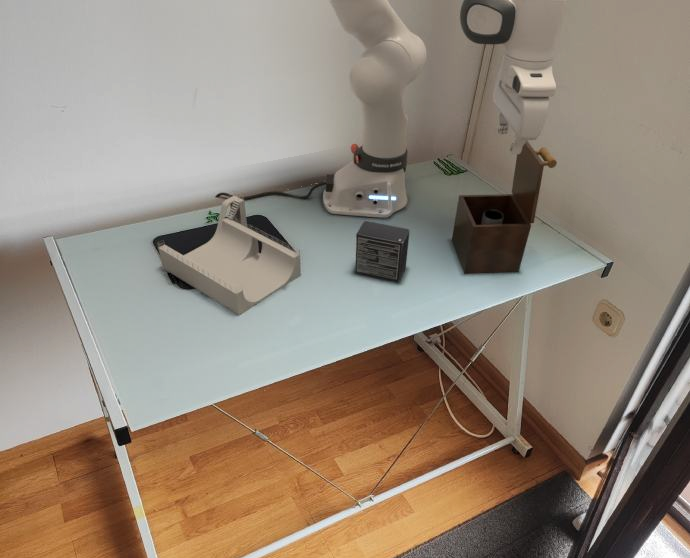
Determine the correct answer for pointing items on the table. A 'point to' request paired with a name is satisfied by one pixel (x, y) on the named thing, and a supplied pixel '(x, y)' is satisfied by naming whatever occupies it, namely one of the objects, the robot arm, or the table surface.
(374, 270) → the small box
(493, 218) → the grey hollow cylinder
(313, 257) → the table surface
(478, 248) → the storage box
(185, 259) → the skate ramp
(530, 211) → the box lid
